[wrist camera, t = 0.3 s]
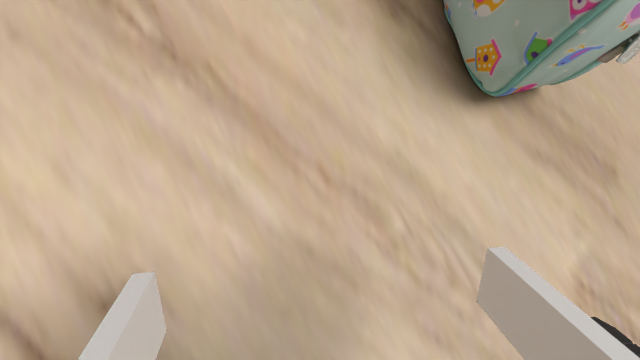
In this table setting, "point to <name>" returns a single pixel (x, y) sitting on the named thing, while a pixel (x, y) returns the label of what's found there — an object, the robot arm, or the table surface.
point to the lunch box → (541, 39)
